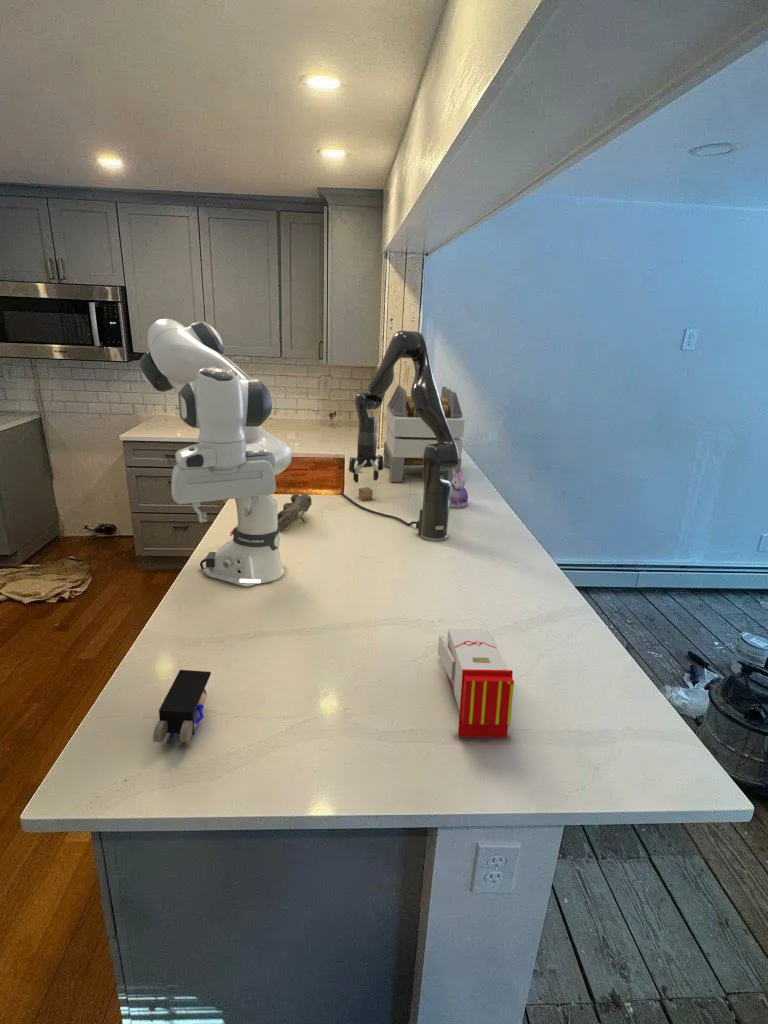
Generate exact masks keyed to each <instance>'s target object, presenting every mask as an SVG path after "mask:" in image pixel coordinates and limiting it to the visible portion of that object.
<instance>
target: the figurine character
mask: <svg viewBox="0 0 768 1024" xmlns="http://www.w3.org/2000/svg"><path fill="white" fill-rule="evenodd" d="M211 675H212V673H211V671H208V670H207V671H204V670H190V669H189V670H188V669H179V670H178V673H177V675H176V676H175V679H174V681H173V682H172V684H171V686H170V687H169V690H168V692H167V694H166V696H165V697H164V700H163V701H162V703H161V705H160V707H159V709H158V717H159V718H158V719H159V720H158V721H157V722H156V724H155V727H154V729H153V734H152V735H153V737H152V738H153V740H152V741H153V742H155V743H163V742H164V741H165V739H166V737H167V734H169V735H168V737H167V740H166V743H165V744H166V746H167V747H168V746H170V745H171V744H172V742H173V739H174V737H175V735H179V741H180V742H181V744H182V745H181V746H182V747H185V746H186V745H187V744H188V743H189V742H190V740H191V738H192V736H194V735H195V733H196V732H195V728H196V727H197V725H198V724H199V723H200V722H201V721H202V720H203V719H204V717H205V716H204V711H203V710H204V707H205V706H204V704H205V703H206V701H207V698H208V695H207V690H206V686H207V684H208V682H209V679H210V677H211ZM197 711H198V715H199V716H198V717H197V718H196V719H195V716H196V713H197Z"/></svg>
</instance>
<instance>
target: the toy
mask: <svg viewBox="0 0 768 1024" xmlns="http://www.w3.org/2000/svg"><path fill="white" fill-rule="evenodd" d="M446 640H447V643H446V641H445V639H444V636H443V635H442V634H439V637H438V646H437V656H438V657H439V659H440V661H441V663H442V666H443V668H444V670H445V672H446V674H447V677H448V679H449V681H450V684H451V687H452V690H453V693H454V697H455V701H456V705H457V708H458V711H459V714H458V715H459V716H458V730H457V731H458V732H457V737H458V738H508V731H509V726H510V725H511V717H512V707H513V697H514V696H513V695H514V684H515V680H514V679H513V673H514V671H513V670H512V669H508V667H507V665H506V662H505V661H504V659H503V658H502V655H501V653H500V651H499V649H498V647H497V643H496V639H495V637H494V635H493V634H491V632H490V631H489V629H467V628H466V629H465V628H463V629H461V628H460V629H459V628H448V630H447V639H446Z"/></svg>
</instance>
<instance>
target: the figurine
mask: <svg viewBox="0 0 768 1024" xmlns="http://www.w3.org/2000/svg"><path fill="white" fill-rule="evenodd" d="M463 474H464V468H461V469H460V471H459V473H457V472H456V470H455V469H453V479H452V482H451V493H450V505H449V508H454V509H455V508H456V509H459V508H464V507H466V506H467V504H468V500H469V495H468V491H467V489H466V487H465V484H466V483H465V479H464V477H463V476H464V475H463Z"/></svg>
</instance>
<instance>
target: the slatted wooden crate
mask: <svg viewBox="0 0 768 1024" xmlns="http://www.w3.org/2000/svg"><path fill="white" fill-rule="evenodd" d="M440 393H441V394H440V396H439V398H440V401H441V405H442V409H443V412H444V415H445V418H446V421H447V424H448V427H449V429H450V432H451V434H452V437H453V439H454V441H455V444H456V447H457V450H458V454H459V463H458V465H457V467H456V468H454V469H455V470H456V472H457V473H459V471H460V469H462V461H463V460H462V453H463V442H464V441H463V440H462V439H463V438H464V431H465V430H464V429H465V419H464V418H463V411H462V408H461V405H460V402H459V398H458V395H457V392H455V391H453V390H452V389H451V388H447V386H442V387H441V392H440ZM407 394H408V393H407V390H406V389H404V388H403V387H402V385H399V384H398V385H397V386H396V388H395V390H394V392H393V394H392V395H391V398H390V400H389V402H388V404H387V405H386V413H385V414H386V415H385V423H386V428H385V438H384V442H383V467H388V468H389V475H388V476H389V477H388V478H389V480H390V482H391V483H402V482H403V475H404V469H405V466H406V467H407V466H411V467H412V466H413V467H415V466H416V467H417V466H418V467H423V454H424V450H425V448H426V446H427V445H429V444H435V443H438V442H437V440H436V437H435V435H434V433H433V432H432V430H431V429H430V428H429V427H428V426H427V425H426V424H425V423H424V422H423V421H422V420H421V419H420V417H419V416H418V415H417V413H416V411H415V408H414V405H413V401H412V398H411V395H407ZM440 475H443V479H446V480H448V481H449V482H450V483H451V482H452V479H453V469H450V470H443V471H440Z"/></svg>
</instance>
